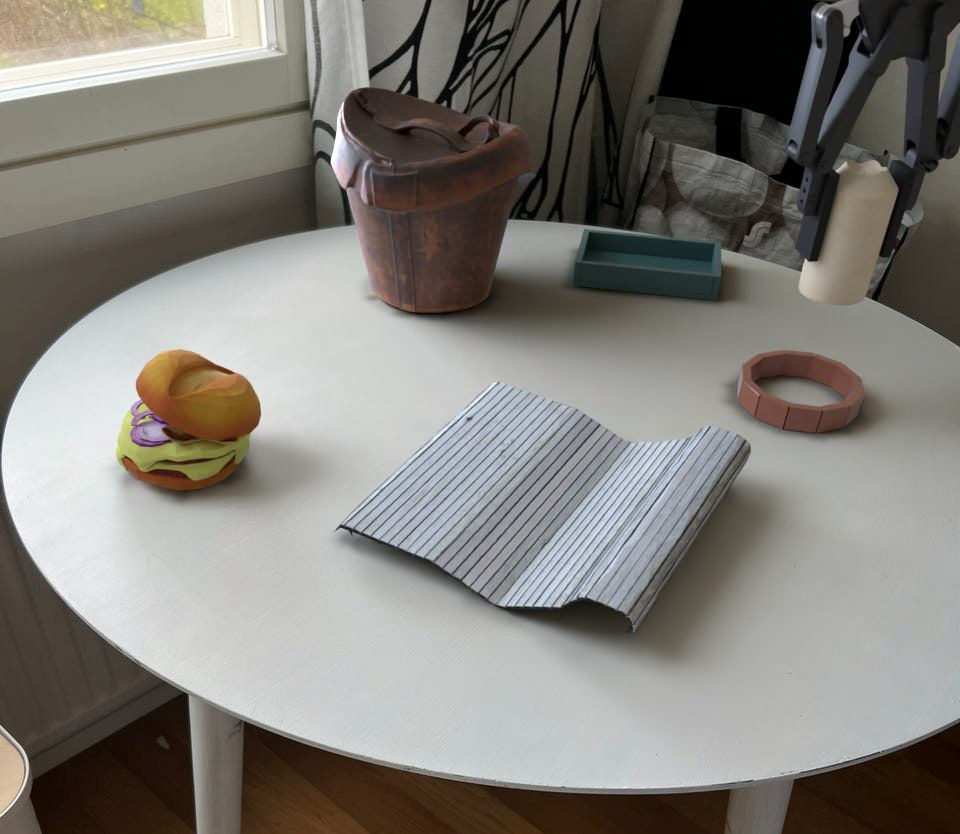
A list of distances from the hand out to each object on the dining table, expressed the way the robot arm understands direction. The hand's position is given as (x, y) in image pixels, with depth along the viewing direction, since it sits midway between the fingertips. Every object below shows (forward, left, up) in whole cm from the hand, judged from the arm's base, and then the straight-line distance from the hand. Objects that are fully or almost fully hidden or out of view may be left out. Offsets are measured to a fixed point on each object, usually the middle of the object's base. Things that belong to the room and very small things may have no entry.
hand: (842, 252), depth 77 cm
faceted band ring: (0, 0, -14) cm, 14 cm away
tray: (+15, -24, -14) cm, 32 cm away
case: (+37, -15, -14) cm, 42 cm away
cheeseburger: (+49, +21, -14) cm, 55 cm away
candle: (0, 0, -4) cm, 4 cm away
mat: (+20, +22, -14) cm, 33 cm away
